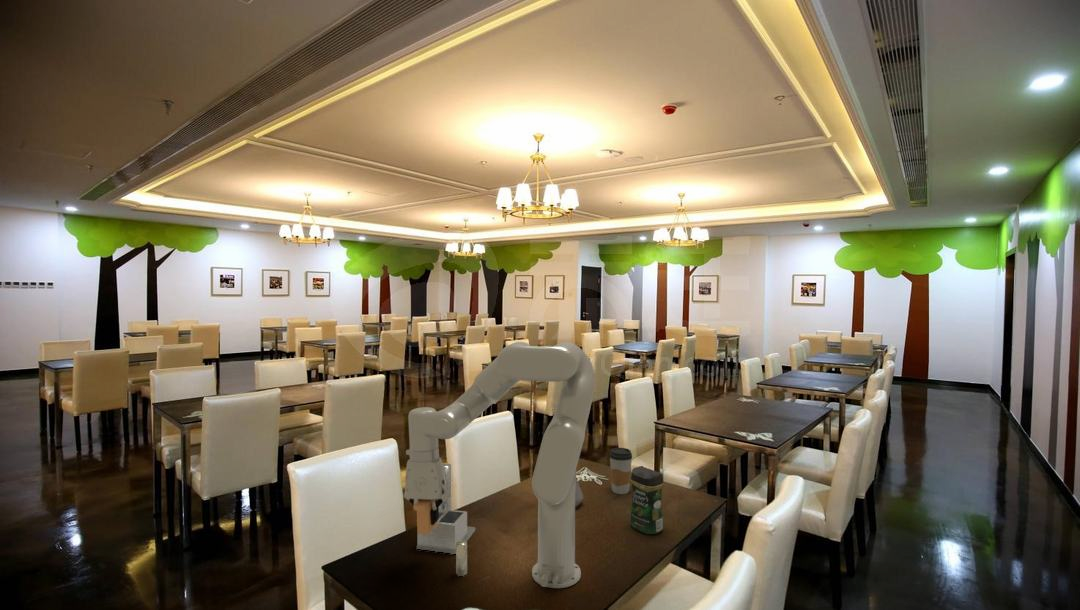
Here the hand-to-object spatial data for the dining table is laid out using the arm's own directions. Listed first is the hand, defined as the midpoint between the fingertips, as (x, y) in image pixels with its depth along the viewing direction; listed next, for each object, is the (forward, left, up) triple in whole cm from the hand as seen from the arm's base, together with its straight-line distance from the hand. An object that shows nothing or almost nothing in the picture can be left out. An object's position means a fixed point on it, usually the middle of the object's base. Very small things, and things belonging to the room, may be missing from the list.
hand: (427, 521), depth 137 cm
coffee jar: (+34, -57, -11) cm, 67 cm away
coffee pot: (+42, -27, -11) cm, 51 cm away
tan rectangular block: (0, 0, -2) cm, 2 cm away
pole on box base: (+13, 0, -11) cm, 17 cm away
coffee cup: (+62, -47, -11) cm, 78 cm away
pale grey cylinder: (-3, -11, -11) cm, 16 cm away
